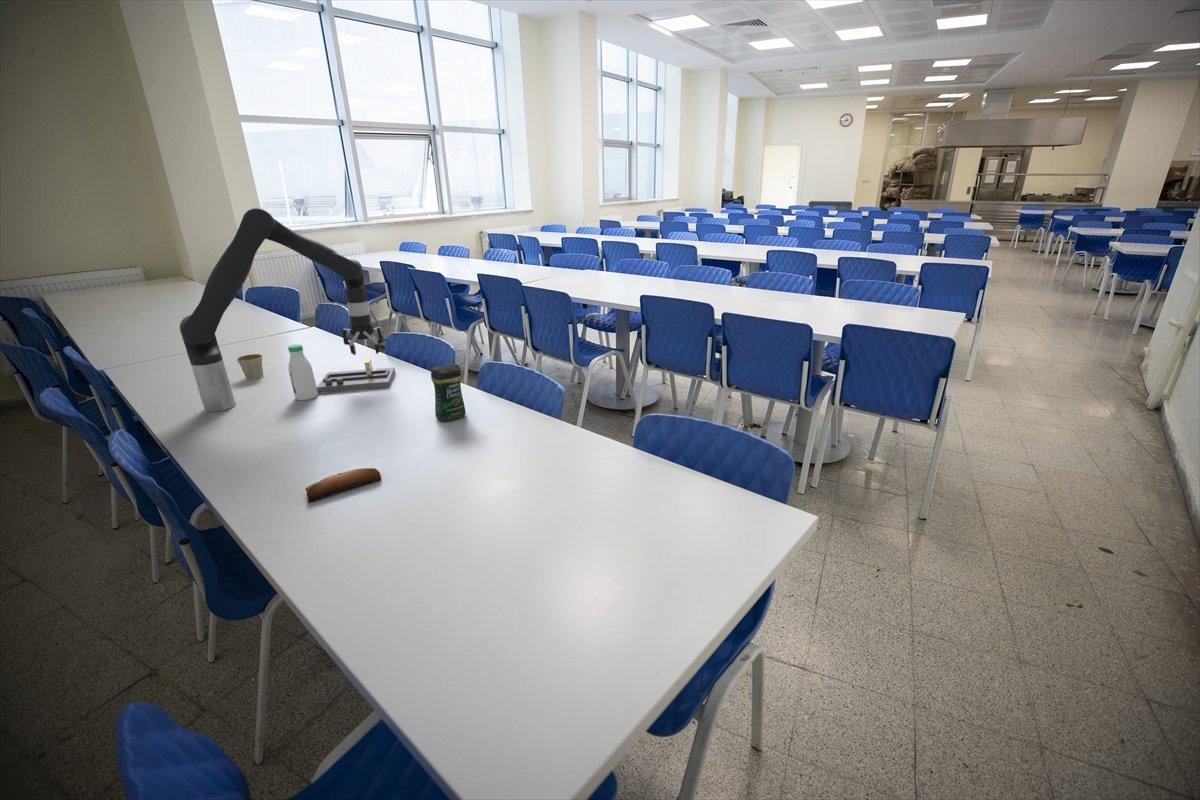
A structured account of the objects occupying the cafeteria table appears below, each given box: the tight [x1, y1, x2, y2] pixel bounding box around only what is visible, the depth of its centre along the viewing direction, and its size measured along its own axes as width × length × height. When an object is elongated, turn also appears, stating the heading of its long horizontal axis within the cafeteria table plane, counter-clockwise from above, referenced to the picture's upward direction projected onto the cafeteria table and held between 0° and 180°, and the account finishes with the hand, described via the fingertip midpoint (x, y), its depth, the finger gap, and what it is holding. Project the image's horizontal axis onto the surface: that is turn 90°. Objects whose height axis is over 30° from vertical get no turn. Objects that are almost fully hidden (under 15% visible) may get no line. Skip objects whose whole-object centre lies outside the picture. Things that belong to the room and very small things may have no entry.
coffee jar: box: [430, 362, 467, 422], centre depth 179 cm, size 10×8×19 cm
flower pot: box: [235, 353, 264, 380], centre depth 221 cm, size 9×9×9 cm
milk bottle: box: [287, 344, 319, 401], centre depth 197 cm, size 8×8×20 cm
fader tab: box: [364, 358, 374, 376], centre depth 214 cm, size 4×2×6 cm, turn 12°
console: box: [316, 367, 396, 394], centre depth 214 cm, size 18×26×4 cm
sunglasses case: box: [305, 467, 382, 503], centre depth 141 cm, size 18×7×7 cm
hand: (366, 353), depth 211 cm, fingers open, 8 cm apart
